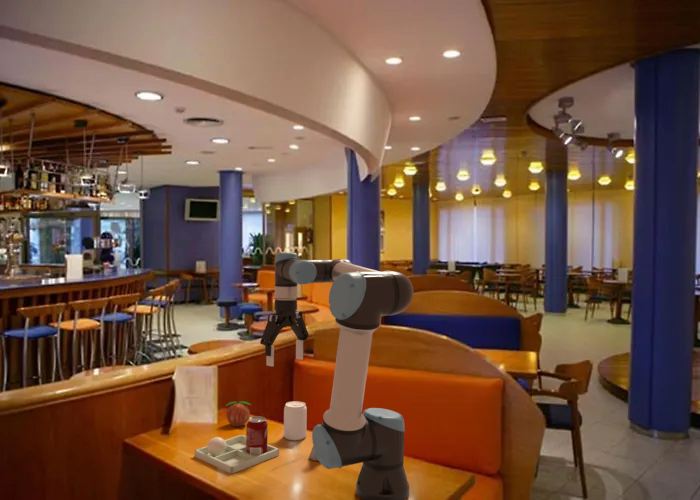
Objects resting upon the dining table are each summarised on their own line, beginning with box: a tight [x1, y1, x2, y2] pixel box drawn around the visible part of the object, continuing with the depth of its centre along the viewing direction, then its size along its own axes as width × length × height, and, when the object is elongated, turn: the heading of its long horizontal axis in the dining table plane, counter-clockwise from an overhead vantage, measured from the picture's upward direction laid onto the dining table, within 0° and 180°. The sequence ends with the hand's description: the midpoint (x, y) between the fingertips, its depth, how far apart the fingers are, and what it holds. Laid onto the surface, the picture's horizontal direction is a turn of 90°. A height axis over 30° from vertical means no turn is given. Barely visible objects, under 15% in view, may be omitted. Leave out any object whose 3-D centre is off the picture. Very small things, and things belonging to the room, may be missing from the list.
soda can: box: [245, 415, 269, 456], centre depth 179 cm, size 7×7×12 cm
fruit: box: [225, 398, 252, 427], centre depth 211 cm, size 9×10×10 cm
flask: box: [308, 445, 319, 462], centre depth 181 cm, size 7×7×10 cm
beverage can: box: [283, 400, 308, 441], centre depth 199 cm, size 8×8×12 cm
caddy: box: [194, 434, 280, 475], centre depth 179 cm, size 19×19×3 cm
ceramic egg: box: [206, 436, 226, 457], centre depth 179 cm, size 6×6×6 cm
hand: (285, 362), depth 185 cm, fingers open, 13 cm apart
